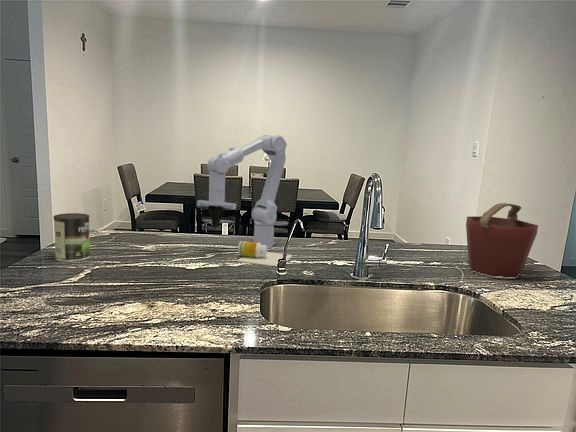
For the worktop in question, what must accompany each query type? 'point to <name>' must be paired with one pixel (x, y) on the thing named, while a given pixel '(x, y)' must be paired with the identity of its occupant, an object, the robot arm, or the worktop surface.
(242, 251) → the supplement bottle
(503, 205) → the bucket
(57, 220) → the coffee can
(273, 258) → the mat
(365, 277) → the worktop surface
